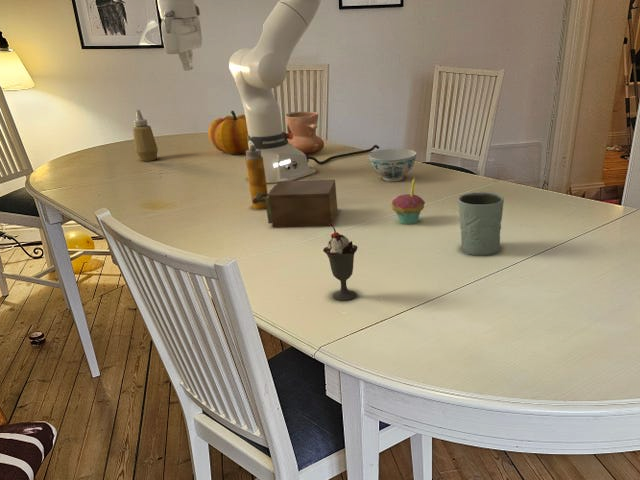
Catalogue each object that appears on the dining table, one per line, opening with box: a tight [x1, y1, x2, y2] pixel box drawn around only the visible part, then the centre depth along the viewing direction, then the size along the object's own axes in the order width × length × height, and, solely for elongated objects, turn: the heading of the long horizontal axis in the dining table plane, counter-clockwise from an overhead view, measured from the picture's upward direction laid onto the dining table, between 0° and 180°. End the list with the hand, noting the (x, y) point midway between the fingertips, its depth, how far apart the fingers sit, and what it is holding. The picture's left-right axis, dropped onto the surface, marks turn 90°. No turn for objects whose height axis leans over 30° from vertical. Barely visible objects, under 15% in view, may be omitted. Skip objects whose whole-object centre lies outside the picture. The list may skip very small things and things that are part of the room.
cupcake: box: [391, 175, 426, 225], centre depth 167 cm, size 9×8×12 cm
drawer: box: [253, 184, 277, 224], centre depth 174 cm, size 19×12×7 cm, turn 87°
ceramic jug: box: [284, 111, 325, 156], centre depth 242 cm, size 18×14×14 cm
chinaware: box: [368, 148, 417, 182], centre depth 206 cm, size 15×15×8 cm
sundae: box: [322, 223, 358, 302], centre depth 127 cm, size 7×7×15 cm
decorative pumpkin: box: [207, 110, 249, 155], centre depth 250 cm, size 20×22×15 cm
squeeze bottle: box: [132, 109, 159, 162], centre depth 244 cm, size 8×8×18 cm
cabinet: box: [268, 179, 338, 228], centre depth 174 cm, size 16×14×9 cm
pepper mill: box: [245, 145, 269, 210], centre depth 183 cm, size 5×5×17 cm
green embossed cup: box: [457, 191, 505, 257], centre depth 147 cm, size 10×10×12 cm
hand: (188, 70), depth 170 cm, fingers closed
